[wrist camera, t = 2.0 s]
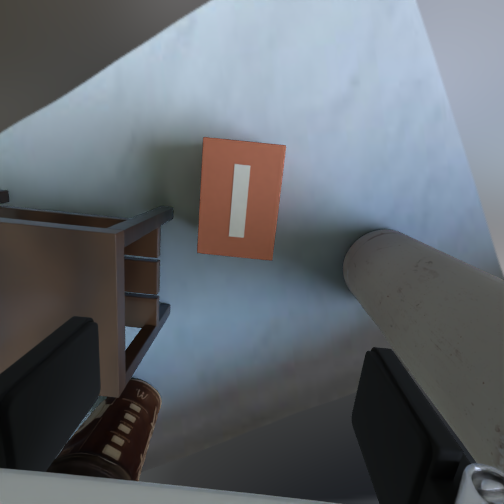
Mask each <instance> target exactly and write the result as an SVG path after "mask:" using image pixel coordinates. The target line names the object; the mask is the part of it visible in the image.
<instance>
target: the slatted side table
mask: <svg viewBox="0 0 504 504" xmlns="http://www.w3.org/2000/svg"><path fill="white" fill-rule="evenodd" d="M6 202H9V194H8V190H0V203H6ZM171 219H173V207H166V206H161V207H159V208H156V209H153V210H151V211H148V212H146V213H143V214H141V215H138V216H136V217H133V218H131V219H129V218H119V217H109V216H99V215H89V214H80V213H70V212H60V211H50V210H40V209H31V208H21V207H11V206H1V205H0V374H1V373H2V372H3V371H5V370H6V369H7V368H8V367H10V366H11V365H12V364H13V363H15V362H16V361H17V360H18V359H20V358H21V357H22V356H23V355H25V354H26V353H27V352H28V351H30V350H31V349H32V348H34V347H35V346H36V345H37V344H39V343H40V342H41V341H42V340H44V339H45V338H46V337H47V336H49V335H50V334H51V333H52V332H54V331H55V330H56V329H58V328H59V327H60V326H61V325H63V324H64V323H65V322H66V321H68V320H69V319H70V318H71V317H73V316H80V317H90V318H92V319H93V320H94V322H96V323H97V324H98V334H99V358H100V382H101V390H100V394H99V396H107V397H117V398H119V397H120V395H121V393H122V392H123V390H124V388H125V387H126V385H127V383H128V382H129V380H130V378H131V377H132V375H133V373H134V372H135V370H136V369H137V367H138V365H139V364H140V362H141V360H142V359H143V357H144V355H145V354H146V352H147V351H148V349H149V347H150V346H151V344H152V342H153V341H154V339H155V338H156V336H157V334H158V333H159V331H160V329H161V328H162V326H163V324H164V323H165V321H166V320H167V318H168V316H169V315H170V305H168V304H159V296H155V295H157V294H158V293H159V287H160V260H154V259H144V258H134V257H124V255H133V256H143V257H153V258H158V257H159V256H160V240H161V225H163V224H165V223H166V222H168V221H170V220H171ZM126 292H134V293H126ZM136 293H144V294H136ZM146 294H154V295H146ZM125 326H128V327H138V328H142V329H141V330H140V331H139V333H138V334H137V335H136V337H135V338H134V340H133V341H132V342H131V344H130V345H129V346H128V348H127V349H126V350H125Z"/></svg>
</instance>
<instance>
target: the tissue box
mask: <svg viewBox="0 0 504 504" xmlns="http://www.w3.org/2000/svg"><path fill="white" fill-rule="evenodd" d="M285 151H286V146H285V145H277V144H267V143H257V142H248V141H238V140H228V139H218V138H209V137H203V151H202V169H201V188H200V207H199V226H198V244H197V253H202V254H212V255H222V256H232V257H241V258H251V259H261V260H272V258H273V250H274V242H275V233H276V225H277V217H278V209H279V201H280V192H281V184H282V176H283V168H284V159H285Z"/></svg>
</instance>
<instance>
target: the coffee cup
mask: <svg viewBox="0 0 504 504" xmlns="http://www.w3.org/2000/svg"><path fill="white" fill-rule="evenodd" d="M161 403H162V400H161V397H160V394H159V393H158V391H157V390H156V389H155V388H153V387H152V386H151V385H150V384H148V383H146V382H144V381H141V380H138V379H130V380H129V382H128V383H127V385H126V387H125V388H124V390H123V392H122V393H121V395H120V397H119V398H117V397H107V398H106V399H105V400H104V401H102V402H101V403H100V404H99V405H98V407H97V408H96V409H95V410H94V411H93V412H92V413H91V415H90V416H89V417H88V418H87V420H86V421H85V422H84V423H83V424H82V425H81V426H80V427H79V429H78V430H77V431H76V432H75V434H74V435H73V436H72V437H71V439H70V440H69V441H68V442H67V443H66V444H65V446H64V447H63V449H62V451H61V453H60V454H59V455H58V456H57V457H56V459H54V461H53V462H52V464H51V465H50V466H49V468H48V469H47V471H46V472H50V473H60V474H70V475H80V476H90V477H100V478H109V479H119V480H129V481H139V477H140V474H141V469H142V466H143V464H144V460H145V457H146V453H147V449H148V447H149V441H150V438H151V436H152V434H153V431H154V427H155V423H156V420H157V416H158V412H159V410H160V407H161Z"/></svg>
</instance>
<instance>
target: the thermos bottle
mask: <svg viewBox="0 0 504 504" xmlns="http://www.w3.org/2000/svg"><path fill="white" fill-rule="evenodd" d="M343 276H344V279H345V282H346V284H347V286H348V288H349V289H350V291H351V292H352V293H353V295H354V296H355V297H356V299H357V300H358V301H359V303H360V304H361V305H362V307H363V308H364V310H365V311H366V312H367V314H368V315H369V316H370V317H371V318H372V320H373V321H374V322H375V323H376V325H377V326H378V327H379V329H380V330H381V332H382V333H383V335H384V336H385V338H386V339H387V341H388V342H389V344H390V345H391V346H392V348H393V349H394V350H395V352H396V353H397V354H398V356H399V357H400V359H401V360H402V361H403V363H404V364H405V365H406V367H407V368H408V369H409V371H410V372H411V374H412V375H413V376H414V378H415V379H416V380H417V382H418V383H419V384H420V386H421V387H422V388H423V390H424V391H425V392H426V394H427V395H428V397H429V398H430V399H431V400H432V402H433V403H434V405H435V406H436V408H437V409H438V410H439V412H440V413H441V414H442V416H443V417H444V418H445V420H446V421H447V423H448V424H449V425H450V427H451V428H452V429H453V430H454V432H455V433H456V435H457V436H458V438H459V439H460V440H461V442H462V443H463V444H464V446H465V447H466V448H467V450H468V451H469V452H470V454H471V455H472V456H473V458H474V459H475V460H476V462H477V463H479V464H485V465H489V466H492V467H494V468H496V469H498V470H501V471H503V472H504V280H502V279H500V278H497V277H495V276H493V275H491V274H489V273H487V272H485V271H482V270H480V269H478V268H476V267H474V266H472V265H469V264H467V263H465V262H463V261H461V260H459V259H456V258H454V257H452V256H450V255H448V254H446V253H444V252H441V251H439V250H437V249H435V248H433V247H431V246H428V245H426V244H424V243H422V242H420V241H418V240H415V239H413V238H411V237H409V236H407V235H405V234H403V233H400V232H397V231H394V230H376V231H373V232H370V233H367V234H366V235H364V236H362V237H360V238H359V239H358V240H357V241H355V243H354V244H353V245H352V246H351V247H350V249H349V250H348V252H347V254H346V256H345V259H344V263H343Z"/></svg>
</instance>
